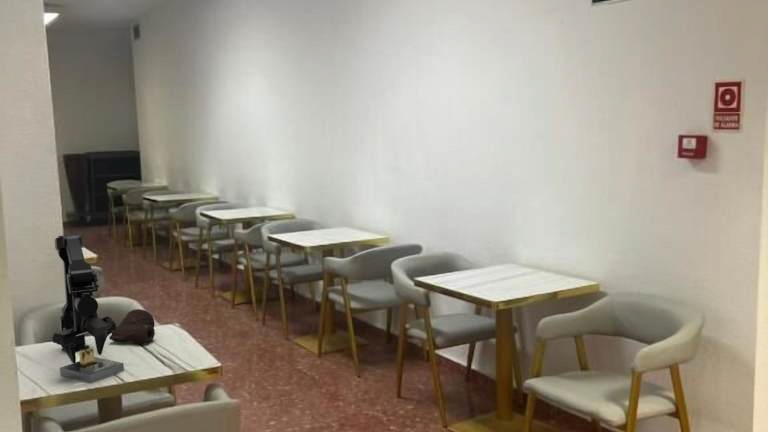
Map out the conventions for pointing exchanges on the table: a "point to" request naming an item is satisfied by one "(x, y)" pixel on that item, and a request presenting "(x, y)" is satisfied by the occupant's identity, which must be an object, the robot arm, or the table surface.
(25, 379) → the table surface
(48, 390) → the table surface
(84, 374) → the metal square frame
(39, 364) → the table surface
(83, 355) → the tan rectangular block
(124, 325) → the dark brown rounded lump
